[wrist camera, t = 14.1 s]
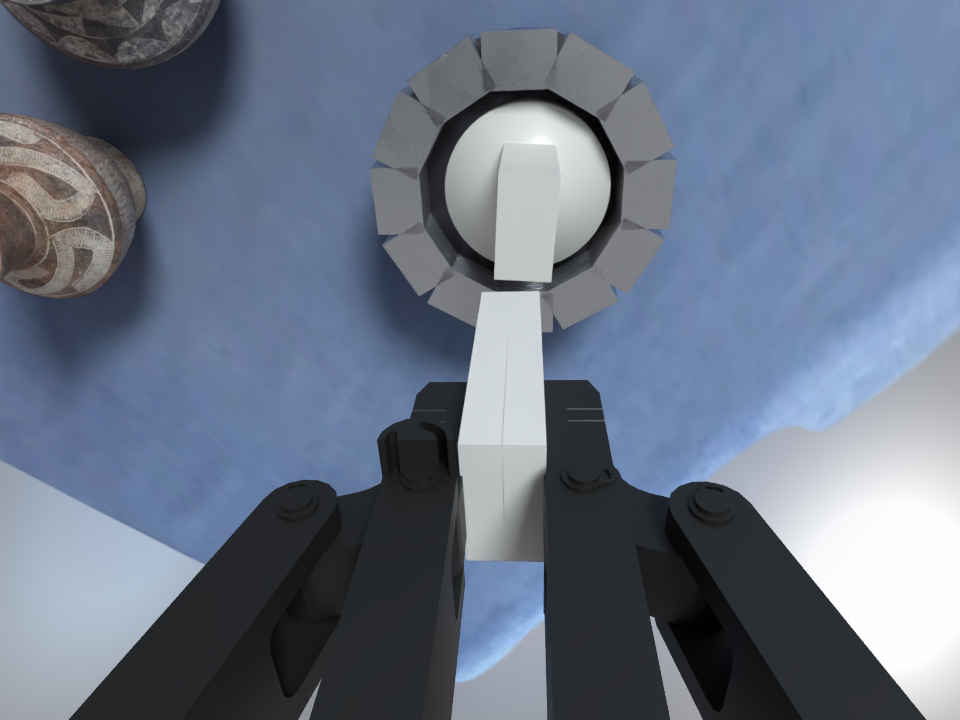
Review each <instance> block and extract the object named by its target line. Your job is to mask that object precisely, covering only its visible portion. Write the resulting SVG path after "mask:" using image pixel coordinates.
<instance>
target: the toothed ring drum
mask: <svg viewBox="0 0 960 720" xmlns="http://www.w3.org/2000/svg"><path fill="white" fill-rule="evenodd" d="M634 72H635V71H633V70H632V69H630V68H628V67H627V66H625V65H623V64H622V63H620V62H618V61H617V60H615V59H614V58H612V57H610V56H609V55H607V54H605V53H604V52H602V51H600V50H599V49H597V48H595V47H594V46H592V45H591V44H589V43H587V42H586V41H584V40H582V39H581V38H579V37H577V36H576V35H574V34H572V33H571V32H569V31H567V32H566V34H562V33H559V32H557V28H516V29H508V30H492V31H483V32H481V37H480V38H478V39H475V38H474V36H473V35H471V36H469V37H467V38H466V39H465V40H463V41H462V42H460V43H459V44H458V45H456V46H455V47H453V48H452V49H451V50H449V51H448V52H446V53H445V54H444V55H442V56H441V57H439V58H438V59H437V60H435V61H434V62H433V63H431V64H430V65H428V66H427V67H426V68H424V69H423V70H421V71H420V72H419V73H417V74H416V75H414V76H413V77H412V78H410V79H409V80H408V81H407V82H408V83H409V85H410V86H409V85H408V86H406V87H405V88H403V89H401V90H400V91H399V92H398V95H397V97H396V100H395V102H394V104H393V107H392V109H391V111H390V114H389V116H388V119H387V121H386V123H385V126H384V128H383V130H382V133H381V135H380V138H379V140H378V142H377V145H376V147H375V150H374V152H373V154H372V157H373V158H375V159H377V160H378V161H377V162H376V163H375V164H374V165H373V166H372V167H371V168H370V174H371V182H372V190H373V198H374V206H375V214H376V222H377V230H378V235H388V237H387V239H386V240H385V242H384V243H383V245H382V246H383V247H384V248H385V250H386V251H387V253H388V254H389V255H390V257H391V258H392V259H393V261H394V262H395V264H396V265H397V266H398V268H399V269H400V271H401V272H402V273H403V275H404V276H405V277H406V279H407V280H408V282H409V283H410V284H411V286H412V287H413V289H414V290H415V291H416V293H417V294H418V295H419V296H421V295H422V294H424V293H426V292H427V291H429V290H431V289H432V291H431V294H430V297H429V300H428V304H430V305H432V306H434V307H436V308H438V309H440V310H442V311H444V312H446V313H448V314H450V315H452V316H454V317H456V318H458V319H460V320H462V321H464V322H466V323H468V324H470V325H472V326H474V327H476V326H477V319H478V313H479V307H480V301H481V294H482V292H522V291H540V311H541V332H553V314H554V316H555V317H556V319H557V321H558V322H559V324H560V325H561V327H562V329H563V330H564V329H566V328H568V327H569V326H571V325H573V324H575V323H577V322H579V321H581V320H583V319H585V318H587V317H589V316H591V315H593V314H595V313H597V312H598V311H600V310H602V309H604V308H606V307H608V306H610V305H612V304H614V303H616V302H618V301H619V300H618V296H617V293H616V290H615V287H616V288H618V289H620V290H621V291H623V292H625V293H628V292H629V291H630V289H631V288H632V286H633V285H634V284H635V282H636V281H637V279H638V278H639V276H640V275H641V274H642V272H643V271H644V269H645V268H646V266H647V265H648V264H649V262H650V261H651V259H652V258H653V257H654V255H655V254H656V252H657V251H658V249H659V248H660V247H661V245H662V244H663V242H664V241H665V239H664V237H663V235H662V234H661V232H660V230H659V229H670V219H671V210H672V201H673V191H674V182H675V172H676V163H677V159H676V158H675V157H674V156H673V155H672V154H671V153H670V152H669V150H671V149H673V148H675V147H674V144H673V142H672V140H671V138H670V136H669V134H668V132H667V130H666V128H665V125H664V123H663V121H662V119H661V117H660V115H659V113H658V111H657V108H656V106H655V104H654V102H653V100H652V98H651V96H650V94H649V92H648V89H647V87H646V85H645V83H644V81H642V80H641V79H639V78H637V77H636V76H634V77H633V78H631V77H632V76H633V74H634ZM520 98H537V99H545V100H549V101H553V102H556V103H558V104H560V105H563V106H565V107H567V108H568V109H570V110H572V111H573V112H575V113H576V114H577V115H579V116H580V117H581V118H582V119H583V120H584V121H585V122H586V123H587V124H588V125H589V126H590V128H591V129H592V130H593V132H594V133H595V135H596V136H597V138H598V140H599V142H600V144H601V146H602V148H603V150H604V153H605V156H606V158H607V161H608V166H609V171H610V181H611V186H610V197H609V202H608V206H607V209H606V212H605V215H604V217H603V220H602V222H601V224H600V226H599V227H598V229H597V230H596V232H595V233H594V235H593V236H592V237H591V238H590V239H589V241H588V242H587V243H586V244H585V245H584V246H582V247H581V248H580V249H579V250H578V251H576V252H575V253H574V254H572V255H571V256H569V257H567V258H565V259H564V260H562V261H559V262H557V263H554V264H553V269H552V280H551V282H532V281H513V280H494V267H495V262H493V261H491V260H489V259H487V258H485V257H483V256H482V255H481V254H479V253H478V252H476V251H475V250H474V249H473V248H472V247H471V246H469V245H468V244H467V242H466V241H465V240H464V239H463V238H462V237H461V235H460V234H459V232H458V231H457V229H456V228H455V226H454V224H453V221H452V219H451V217H450V214H449V211H448V208H447V203H446V198H445V176H446V171H447V166H448V163H449V160H450V157H451V154H452V152H453V150H454V148H455V146H456V144H457V142H458V140H459V138H460V137H461V135H462V134H463V132H464V131H465V130H466V128H467V127H468V126H469V125H470V124H471V123H472V122H473V121H474V120H475V119H476V118H477V117H478V116H480V115H481V114H482V113H484V112H485V111H487V110H488V109H490V108H492V107H494V106H496V105H498V104H500V103H503V102H506V101H510V100H515V99H520Z"/></svg>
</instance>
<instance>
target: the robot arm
mask: <svg viewBox="0 0 960 720" xmlns="http://www.w3.org/2000/svg"><path fill="white" fill-rule="evenodd" d="M377 443H378V450H379V456H380V463H381V470H382V476H383V478H382V481H381V483H380V484H378V485H376V486H374V487H372V488H370V489H367V490H364V491H361V492H357V493H352V494H348V495H343V496H339V497H337V495H336V491H335V490H334V489H333V488H332V487H331V486H330V485H329V484H326V483H324V482H321V481H318V480H301V481H296V482H291V483H288V484H286V485H284V486H281V487H279V488H277V489H275V490H274V491H273V492H272V493H270V494H269V495H268V496H267V497H265V498H264V499H263V501H262V502H261V503H260V504H259V505H258V506H257V507H256V508H255V510H254V511H253V512H252V513H251V514H250V515H249V516H248V517H247V519H246V520H245V521H244V522H243V523H242V524H241V525H240V527H239V528H238V529H237V530H236V531H235V532H234V533H233V534H232V536H231V537H230V538H229V539H228V540H227V541H226V542H225V543H224V545H223V546H222V547H221V548H220V549H219V550H218V551H217V553H216V554H215V555H214V556H213V557H212V558H211V559H210V560H209V562H208V563H207V564H206V565H205V566H204V567H203V569H202V570H201V571H200V572H199V573H198V574H197V575H196V576H195V577H194V579H193V580H192V581H191V582H190V583H189V584H188V585H187V586H186V588H185V589H184V590H183V591H182V592H181V593H180V594H179V596H178V597H177V598H176V599H175V600H174V601H173V602H172V603H171V605H170V606H169V607H168V608H167V609H166V610H165V611H164V612H163V614H162V615H161V616H160V617H159V618H158V619H157V620H156V621H155V623H154V624H153V625H152V626H151V627H150V628H149V629H148V631H147V632H146V633H145V634H144V635H143V636H142V637H141V638H140V640H139V641H138V642H137V643H136V644H135V645H134V646H133V647H132V649H131V650H130V651H129V652H128V653H127V654H126V656H125V657H124V658H123V659H122V660H121V661H120V662H119V663H118V664H117V666H116V667H115V668H114V669H113V670H112V671H111V672H110V674H109V675H108V676H107V677H106V678H105V679H104V680H103V681H102V683H101V684H100V685H99V686H98V687H97V688H96V689H95V691H94V692H93V693H92V694H91V695H90V696H89V697H88V698H87V700H86V701H85V702H84V703H83V704H82V705H81V706H80V707H79V709H78V710H77V711H76V712H75V713H74V714H73V715H72V716H71V718H70V719H69V720H298V719H299V717H300V715H301V713H302V712H303V710H304V708H305V706H306V704H307V703H308V701H309V699H310V698H311V696H312V694H313V692H314V690H315V688H316V687H317V685H318V683H319V682H320V680H321V683H320V686H319V689H318V693H317V696H316V699H315V703H314V706H313V709H312V712H311V716H310V719H309V720H451V714H452V704H453V694H454V685H455V675H456V666H457V656H458V646H459V637H460V627H461V617H462V608H463V598H464V589H465V577H464V555H465V550H466V560H477V561H529V562H544V614H545V641H546V642H545V645H546V683H547V719H548V720H670V716H669V711H668V706H667V701H666V697H665V691H664V686H663V681H662V676H661V671H660V666H659V661H658V656H657V651H656V646H655V641H654V636H653V631H652V626H651V621H650V616H652V617H654V618H655V621H656V625H657V627H658V629H659V631H660V634H661V635H662V637H663V640H664V641H665V644H666V646H667V648H668V649H669V652H670V654H671V656H672V658H673V660H674V662H675V664H676V666H677V668H678V670H679V672H680V674H681V676H682V678H683V680H684V682H685V684H686V686H687V688H688V690H689V692H690V694H691V696H692V698H693V700H694V702H695V704H696V706H697V708H698V710H699V712H700V714H701V716H702V719H703V720H926V719H925V718H924V716H923V715H922V714H921V713H920V711H919V710H918V709H917V708H916V707H915V705H914V704H913V703H912V702H911V701H910V699H909V698H908V697H907V695H906V694H905V693H904V692H903V690H902V689H901V688H900V687H899V686H898V684H896V682H895V681H894V679H892V677H891V676H890V674H889V673H888V672H887V671H886V670H885V668H884V667H883V666H882V665H881V663H879V661H878V660H877V659H876V657H875V656H874V655H873V654H872V652H871V651H870V650H869V649H868V647H867V646H866V645H865V644H864V642H863V641H862V640H861V639H860V638H859V636H858V635H857V634H856V633H855V631H854V630H853V629H852V628H851V626H850V625H849V624H848V623H847V622H846V620H845V619H844V618H843V617H842V615H841V614H840V613H839V612H838V610H837V609H836V608H835V607H834V606H833V604H832V603H831V602H830V601H829V599H828V598H827V597H826V596H825V594H824V593H823V592H822V591H821V589H820V588H819V587H818V586H817V585H816V583H815V582H814V581H813V580H812V578H811V577H810V576H809V575H808V574H807V572H806V571H805V570H804V569H803V567H802V566H801V565H800V564H799V562H798V561H797V560H796V559H795V557H794V556H793V555H792V554H791V553H790V551H789V550H788V549H787V548H786V546H785V545H784V544H783V543H782V541H781V540H780V539H779V538H778V537H777V535H776V534H775V533H774V532H773V530H772V529H771V528H770V527H769V525H768V524H767V523H766V522H765V520H763V518H762V517H761V516H760V514H759V513H758V512H757V511H756V509H755V508H754V507H753V506H752V504H751V503H750V502H749V501H748V500H746V499H745V498H744V497H743V496H742V495H741V494H740V493H739V492H737V491H734V490H732V489H730V488H728V487H726V486H724V485H720V484H716V483H711V482H690V483H687V484H684V485H681V486H679V487H678V488H677V489H676V490H674V491H673V492H672V493H671V496H670V498H668V497H664V496H659V495H655V494H651V493H648V492H645V491H642V490H639V489H637V488H635V487H633V486H631V485H629V484H628V483H627V482H625V481H624V480H623V479H622V478H621V476H620V474H619V472H618V470H617V469H616V468H615V467H614V466H613V462H612V457H611V452H610V446H609V441H608V436H607V430H606V425H605V422H604V415H603V410H602V404H601V399H600V394H599V392H598V391H597V390H596V389H595V388H594V387H593V386H592V384H591V383H590V382H589V381H588V380H544V377H543V355H542V333H541V311H540V291H522V292H482V294H481V301H480V307H479V313H478V319H477V326H476V332H475V338H474V345H473V351H472V357H471V364H470V370H469V376H468V382H429V383H428V384H427V385H426V386H425V387H424V388H423V389H422V390H421V391H420V392H419V393H418V394H417V396H416V400H415V403H414V407H413V411H412V414H411V417H410V419H406V420H403V421H400V422H397V423H394V424H392V425H391V426H389V427H388V428H386V429H385V430H384V431H382V433H381V434H380V436H379V437H378V439H377ZM321 678H322V679H321Z"/></svg>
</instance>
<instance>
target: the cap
mask: <svg viewBox="0 0 960 720" xmlns="http://www.w3.org/2000/svg"><path fill="white" fill-rule="evenodd" d="M610 186H611V181H610V171H609V166H608V161H607V158H606V156H605V153H604V150H603V148H602V146H601V144H600V142H599V140H598V138H597V136H596V135H595V133H594V132H593V130H592V129H591V128H590V126H589V125H588V124H587V123H586V122H585V121H584V120H583V119H582V118H581V117H580V116H579V115H577V114H576V113H575V112H573V111H572V110H570V109H568V108H567V107H565V106H563V105H560V104H558V103H556V102H553V101H549V100H545V99H537V98H520V99H515V100H510V101H506V102H503V103H500V104H498V105H496V106H494V107H492V108H490V109H488V110H487V111H485V112H484V113H482V114H481V115H480V116H478V117H477V118H476V119H475V120H474V121H473V122H472V123H471V124H470V125H469V126H468V127H467V128H466V130H465V131H464V132H463V134H462V135H461V137H460V138H459V140H458V142H457V144H456V146H455V148H454V150H453V152H452V154H451V157H450V160H449V163H448V166H447V171H446V176H445V198H446V203H447V208H448V211H449V214H450V217H451V219H452V221H453V224H454V226H455V228H456V229H457V231H458V232H459V234H460V235H461V237H462V238H463V239H464V240H465V241H466V242H467V244H468V245H469V246H471V247H472V248H473V249H474V250H475V251H476V252H478V253H479V254H481V255H482V256H483V257H485V258H487V259H489V260H491V261H493V262H495V267H494V280H513V281H532V282H551V280H552V269H553V264H554V263H557V262H559V261H562V260H564V259H565V258H567V257H569V256H571V255H572V254H574V253H575V252H576V251H578V250H579V249H580V248H581V247H582V246H584V245H585V244H586V243H587V242H588V241H589V239H590V238H591V237H592V236H593V235H594V233H595V232H596V230H597V229H598V227H599V226H600V224H601V222H602V220H603V217H604V215H605V212H606V209H607V206H608V202H609V197H610Z"/></svg>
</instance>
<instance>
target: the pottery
mask: <svg viewBox="0 0 960 720" xmlns="http://www.w3.org/2000/svg"><path fill="white" fill-rule="evenodd" d="M0 2H1V3H2V5H3V6H4V7H5V8H6V9H7V10H8V12H9V13H10V14H11V15H12V16H13V17H14V18H15V19H16V20H17V21H18V22H20V23H21V24H22V25H23V26H24V27H25V28H26V29H27V30H29V31H30V32H31V33H32V34H34V35H35V36H36V37H38V38H39V39H41V40H42V41H43V42H45V43H47V44H48V45H50V46H51V47H53V48H54V49H56V50H58V51H60V52H61V53H63V54H65V55H67V56H69V57H72V58H74V59H77V60H79V61H82V62H86V63H89V64H92V65H96V66H100V67H105V68H112V69H139V68H144V67H149V66H153V65H156V64H159V63H162V62H164V61H167V60H169V59H171V58H173V57H175V56H177V55H179V54H180V53H181V52H183V51H184V50H186V49H187V48H188V47H190V46H191V45H192V44H193V43H194V42H195V41H196V40H197V39H198V37H199V36H200V35H201V34H202V33H203V32H204V30H205V29H206V28H207V26H208V25H209V24H210V22H211V20H212V18H213V16H214V14H215V12H216V11H217V9H218V6H219V3H220V0H0ZM145 204H146V191H145V187H144V183H143V181H142V179H141V177H140V175H139V173H138V171H137V169H136V168H135V166H134V165H133V163H132V162H131V161H130V160H129V159H128V158H127V157H126V156H125V155H124V154H123V153H122V152H121V151H120V150H118V149H117V148H116V147H114V146H113V145H111V144H109V143H108V142H106V141H104V140H101V139H98V138H95V137H91V136H84V135H82V134H80V133H78V132H76V131H74V130H71V129H69V128H67V127H64V126H62V125H58V124H56V123H53V122H50V121H47V120H43V119H39V118H34V117H30V116H23V115H17V114H6V113H0V282H2V283H4V284H6V285H8V286H10V287H12V288H15V289H17V290H20V291H22V292H26V293H29V294H32V295H37V296H41V297H46V298H56V299H64V298H74V297H80V296H84V295H87V294H89V293H92V292H94V291H95V290H97V289H99V288H100V287H101V286H102V285H104V284H105V283H106V282H107V281H108V280H109V278H110V277H111V276H112V275H113V273H114V272H115V271H116V270H117V268H118V266H119V265H120V264H121V262H122V260H123V259H124V258H125V255H126V253H127V251H128V249H129V247H130V245H131V243H132V240H133V237H134V235H135V229H136V221H137V220H138V219H139V218H140V216H141V215H142V213H143V210H144V207H145Z"/></svg>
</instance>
